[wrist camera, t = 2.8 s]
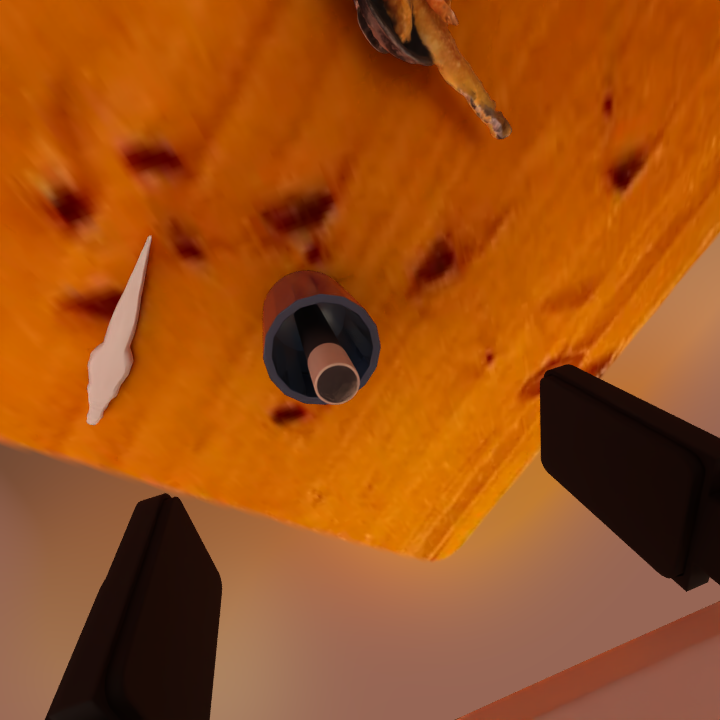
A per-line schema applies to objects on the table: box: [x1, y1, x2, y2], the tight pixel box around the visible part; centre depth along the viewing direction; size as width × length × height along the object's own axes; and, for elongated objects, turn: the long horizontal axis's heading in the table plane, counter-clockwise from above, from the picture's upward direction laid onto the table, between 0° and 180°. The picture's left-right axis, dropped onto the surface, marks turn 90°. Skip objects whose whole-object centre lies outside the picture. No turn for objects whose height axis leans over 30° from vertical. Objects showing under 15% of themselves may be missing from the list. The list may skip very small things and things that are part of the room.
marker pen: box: [294, 304, 360, 405], centre depth 25 cm, size 2×2×13 cm
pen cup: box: [262, 270, 381, 405], centre depth 27 cm, size 7×7×9 cm
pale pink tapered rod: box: [87, 235, 152, 425], centre depth 27 cm, size 15×3×2 cm, turn 154°
